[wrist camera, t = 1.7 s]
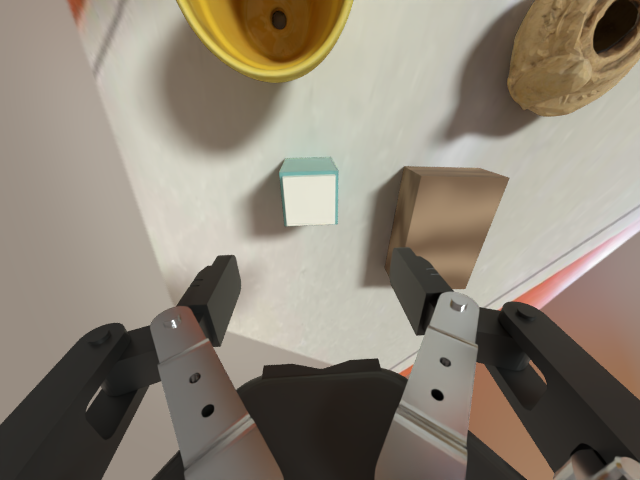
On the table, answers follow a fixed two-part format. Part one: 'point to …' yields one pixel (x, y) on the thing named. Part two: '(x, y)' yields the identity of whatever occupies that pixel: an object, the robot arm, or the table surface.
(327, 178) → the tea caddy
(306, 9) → the plant pot
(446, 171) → the brown rectangular block
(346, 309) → the table surface
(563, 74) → the oil lamp
